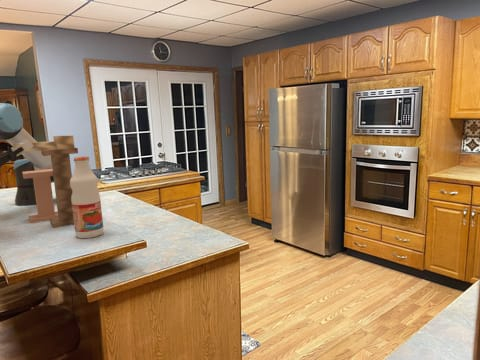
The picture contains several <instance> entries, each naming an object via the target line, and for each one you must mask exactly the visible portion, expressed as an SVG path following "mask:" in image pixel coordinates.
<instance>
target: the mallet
mask: <svg viewBox="0 0 480 360" xmlns="http://www.w3.org/2000/svg"><path fill="white" fill-rule="evenodd" d="M52 136H53V137H52V138H53V141H37V142H35V143H32V144H33V147H32V148H30V149H29V150H27V151H40V150H54V149H72V148H76V146H75V142H74V141H75V140H74V135H72V134H71V135H52ZM21 144H23V143H18V144H13V146H12V147H14V148H16V147H18V146H19V145H21ZM25 152H26V151H25Z"/></svg>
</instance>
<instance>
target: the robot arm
mask: <svg viewBox="0 0 480 360" xmlns="http://www.w3.org/2000/svg"><path fill="white" fill-rule="evenodd" d="M23 124H24V119H23V116H22V113H21V110H19V109H18V108H17V107H16V106H15V105H13V104H10V103H5V102H4V103H3V102H0V141H6V142H7V143H8V144H9V145H11V146H12V147H10V146H9V147H7V150H5V151H4V152H2V153H1V154H0V168H1V167H3V166H4V165H6V164H7V163H8V162H10V161H12V160H15V161H13V171H14V176H15V182H16V187H17V188H16V195H15V198H14V203H15V205H16V206H32V205H37V204H36V197H35V189H34V182H33V178H26V179H24V178H23V173H22V172H26V171H36V170H47V169H52V162H51V155H50V156H43V155H42V153H41V150H40V151H27V150H29V149H30V148H32V147H33V144H32V143H35V142H38V141H37V140H36V139H35V138H34V137H32V135H31V134H29V132H28V131H27V130H26V129H25V128H24V125H23ZM18 143H23V144H21V145H19V146H18V147H16V148H14V147H13V144H18ZM25 151H26V152H25ZM20 155H22V156H23V157H24V158H23V159H19V156H20ZM50 179H51V183H54V178H53V176H50Z"/></svg>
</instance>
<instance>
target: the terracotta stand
mask: <svg viewBox="0 0 480 360" xmlns="http://www.w3.org/2000/svg"><path fill="white" fill-rule="evenodd" d="M22 173H23V178H24V179H26V178H33V182H34V189H35V197H36V204H35V205H36V209H37V214H33V215H32V214H31V215H30V214H29V215H28V221H29V224H33V223H34V224H35V223H41V222H46V220H47V221H50V219H54V218H59V217H58V210H57V211H55V203H54V198H53V196H54V195H53V189H52V188H53V187H52V182H51V179H50V176H53V170H52V169H47V170H36V171H26V172H22ZM40 221H41V222H40Z"/></svg>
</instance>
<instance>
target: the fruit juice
mask: <svg viewBox="0 0 480 360" xmlns="http://www.w3.org/2000/svg"><path fill="white" fill-rule="evenodd" d="M73 161H74V164H75V165H74V170H73V173H72V177H71V179H70V186H71V189H72V196H71V201H72V209H73V218H74V224H73V225H74V233H75V237H77V238H79V239H89V238H90V239H91V238H95V237H99V236H101V235H102V234H103V233H104V222H103V211H102V203H101V195H100V192H99V190H98V187H99V180H98V177H97V176H96V175H95V173H94V172H93V170H92V168H91V166H90V156H87V155H85V156H76V157H73Z"/></svg>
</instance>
